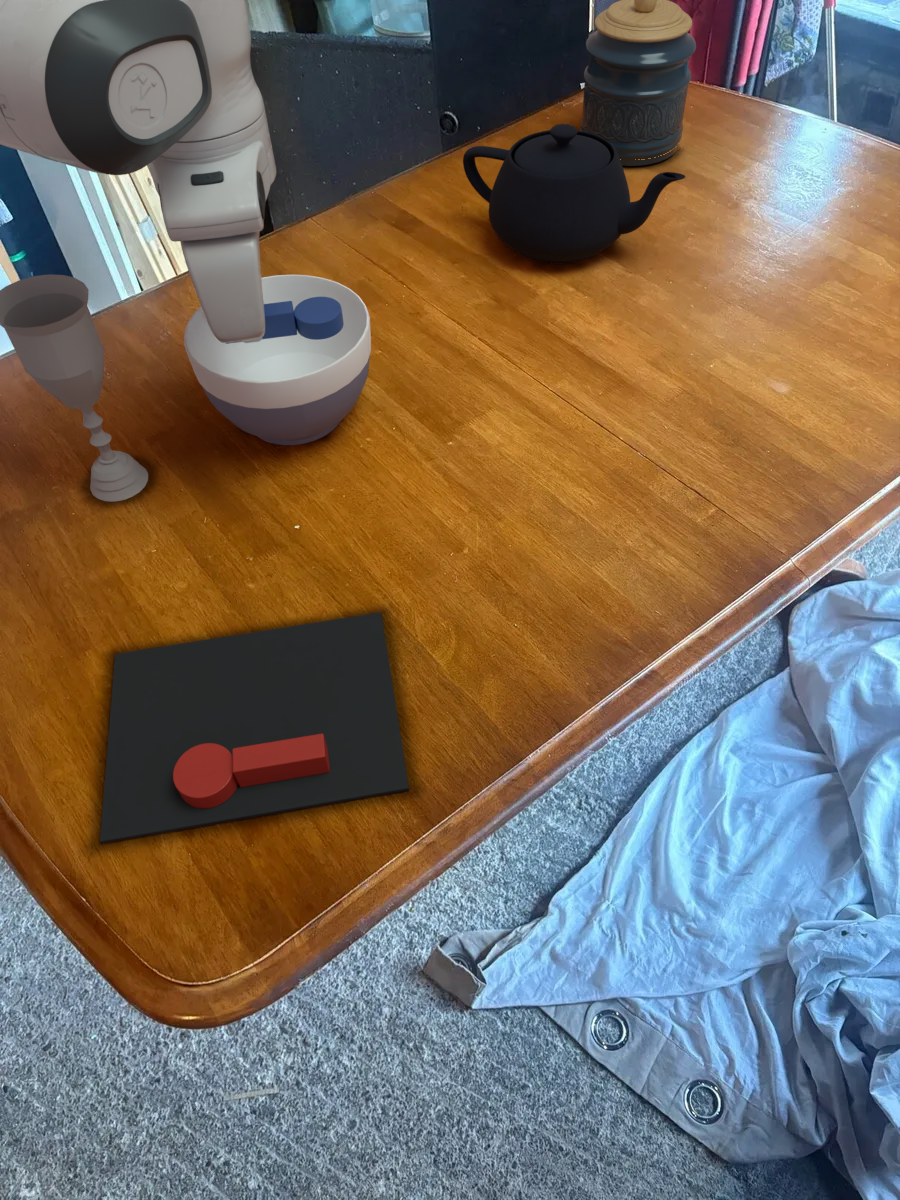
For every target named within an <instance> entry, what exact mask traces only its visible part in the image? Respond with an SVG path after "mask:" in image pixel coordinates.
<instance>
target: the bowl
mask: <svg viewBox="0 0 900 1200" xmlns="http://www.w3.org/2000/svg"><path fill="white" fill-rule="evenodd" d="M261 278H262V290H263V301H264V304H269V303H277V302H285V301H292V304H293V309H295V307H296V306H297V305H298V304H299V303H300V302H302V301H304V300H306V299H309V298H312V297H329V298H332V299H335V300H336V301H338V302H339V303H340V305H341V309H342V315H343V322H344V325H343V328H342V330H341V331H340V332H339V333H338V334H336V335H334V336H332V337H330V338H326V339H320V340H313V339H308V338H305V337H303V336H301V335H300V334H299V333H298V331H297V335H292V336H285V337H277V338H269V339H262V340H261V341H259V342H251V343H244V342H238V343H230V344H226V343H222V342H220V341H219V340H218V339H217V338H216V337H215V336H214V334H213V333H212V331H211V329H210V327H209V325H208V322H207V319H206V317H205V314H204V312H203V309H202V306H201V305H200V306H199V307H198V308H197V309H196V310H195V311H194V312H193V313H192V315H191V317H190V318H189V320H188V322H187V323H186V325H185V330H184V333H183V345H184V349H185V352H186V356H187V357H188V358H187V359H188V360H189V363H190V365H191V368H192V370H193V373H194V375H195V377H196V380H197V381H198V382H197V383H199V384H200V386H201V388H202V389H203V391H204V393H205V395H206V397H207V399H208V400H209V402H210V403H211V405H213V407H214V408H215V409H216V410H217V411H218V412H219V413H220V414H221V415H222V416H224V417H225V418H226V419H227V420H228V421H230V422H231V424H233V425H234V426H235V427H237V428H238V429H240V430H241V431H243V432H244V433H248V434H249V435H252V436H255V437H257V438H259V439H260V440H262V441H265V442H267V443H270V444H273V445H280V446H298V445H303V444H308V443H311V442H315V441H318V440H319V439H322V438H324V437H326V436H327V435H329V434H330V433H332V432H333V431H334V430H335V429H336V428H337V427H338V425H339V424H340V423H341V421H342V420H343V419H345V418H346V417H347V416H348V414H350V413H351V411H353V408H354V407H355V405H356V404H357V402H358V399H359V398H360V396H361V394H362V391H363V389H364V388H365V385H366V382H367V381H368V377H369V369H370V360H371V352H372V335H371V334H372V333H371V316H370V314H369V313H370V312H369V310H368V306H366V304H365V302H364V301H363V300H362V298H361V297H360V295H358V294H357V293H356V292H355V291H353V290H352V289H351V288H349V287H348V286H345V285H344V284H342V283H340V282H338V281H335V280H332V279H328V278H326V277H319V276H316V275H315V276H313V275H309V274H308V275H307V274H277V275H270V276H263V277H261Z"/></svg>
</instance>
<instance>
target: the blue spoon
mask: <svg viewBox="0 0 900 1200" xmlns="http://www.w3.org/2000/svg"><path fill="white" fill-rule="evenodd" d="M264 313H265V334H264V336H263V337H262V339H269V338H277V337H285V336H292V335H297V331H298V333H299V334H300V335H301V336H303V337H305V338H308V339H313V340H320V339H326V338H330V337H332V336H334V335H336V334H338V333H339V332H340V331H341V330H342V328H343V325H344V322H343V315H342V309H341V305H340V303H339V302H338V301H336V300H335V299H332V298H329V297H312V298H309V299H306V300H304V301H302V302H300V303H299V304H298V305H297V306H296V307H295V309H293V304H292V301H285V302H277V303H269V304H264ZM240 342H242V341H240ZM231 343H238V342H231ZM226 344H230V343H226Z"/></svg>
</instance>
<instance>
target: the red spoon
mask: <svg viewBox="0 0 900 1200" xmlns="http://www.w3.org/2000/svg"><path fill="white" fill-rule="evenodd" d="M232 754H233V756H232ZM232 754H231V753H230V752H229V750H228V749H226V748H225V747H223V746H221V745H218V744H214V743H205V744H200V745H197V746H194V747H192V748H191V749H189V750H188V751H186V752H185V753H184V754H183V755H182V756H181V757H180V758H179V760H178V761H177V763H176V765H175V767H174V771H173V781H174V784H175V786H176V788H177V790H178V791H179V793H180V795H181V796H182V798H183V799H184V801H185V802H186V803H188V804H189V805H191V806H193V807H196V808H212V807H215V806H218V805H220V804H222V803H223V802H225V801H226V800H228V799H229V798H230V797H231V796H232V794H233V793H234V792H235V790H236V788H237V786H238V784H239V786H240V787H246V786H252V785H258V784H264V783H270V782H275V781H281V780H287V779H293V778H299V777H305V776H311V775H317V774H322V773H328V772H330V765H329V755H328V748H327V745H326V741H325V738H324V734H316V735H310V736H304V737H298V738H292V739H286V740H280V741H274V742H268V743H262V744H256V745H250V746H244V747H238V748H233V750H232Z"/></svg>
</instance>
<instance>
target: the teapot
mask: <svg viewBox="0 0 900 1200" xmlns="http://www.w3.org/2000/svg"><path fill="white" fill-rule="evenodd" d="M476 158H484V159H485V158H486V159H492V160H498V161H503V162H502V164H501V166H500V168H499V171H498V173H497V174H496V175H497V176H496V177H495V181H494V183H493V186H492V188H491V187H490V186H489V185H488V184H487V183H486V182H485V181H484V179H483V178H482V176H481V174H480V172H479V169H478V167H477V165H476ZM462 166H463V170H464V173H465V175H466V178H467V180H468V182H469V183H470V185H471V186H472V188H473V189H474V190H475V192H476V193H477V194H478V195H479V196H480V197H481V198H483V200H485V202H487V203H488V220H489V222H490V226H491V228H492V230H493V232H494V234H495V235H496V236H497V237H498V239H499V240H500V241H501V242H502V243H504V244H505V245H506V246H507V247H509V248H510V249H511V250H512V251H513V252H515V253H516V254H518V255H519V256H521V257H523V258H526V259H528V260H531V261H533V262H538V263H543V264H551V265H552V264H554V265H562V264H563V265H564V264H575V263H578V262H582V261H585V260H588V259H591V258H593V257H594V256H596V255H598V254H600V253H602V251H604V250H606V249H607V248H608V247H610V246H611V245H612V244H614V243H615V242H616V241H617V240H618V239H619V238H620V237H621V236H622V235H626V234H630V233H632V232H634V231H636V230H638V229H639V228H640V227H641V226H643V225H644V224H645V223H646V221H647V220H648V219H649V217H650V215H651V214H652V211H653V210H654V207H655V206H656V202H657V200H658V199H659V196H660V194H661V193H662V192H663V190H664V189H665V188H666V187H667V186H668V185H670V184H672V183H674V182H677V181H680V180H684V179H685V178H686V175H685V174H683V173H679V172H674V171H673V172H672V171H663V172H660V173H658V174H656V175H655V176H654V177H653V178H652V179H651V180H650V181H649V183H648V185H647V186H646V188H645V191H644V193H643V195H642V196H641V198H639V199H638V200H636V201H631V195H630V188H629V184H628V181H627V177H626V174H625V171H624V168H623V167H624V166H622V164H621V162H620V159H619V156H618V153H617V151H616V149H615V148H614V146H613V145H612V144H611V143H610V142H608V141H607V140H606V139H604V138H602V137H600V136H597V135H595V134H592V133H588V132H583V131H580V130H578V128H577V127H576V126H574V125H573V124H568V123H559V124H555V125H553V126H552V127H551V128H550V129H549V130H543V131H542V130H541V131H538V132H534V133H531V134H527V135H526V136H523V137H522V138H520V139H519V140H517V141H516V142H515V143H513V145H512V146H511V147H510V148H509V149H507V148H500V147H495V146H486V145H477V146H476V145H475V146H471V147H469V148H468V149H467V150H466V151H465V152H464V154H463V156H462Z"/></svg>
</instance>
